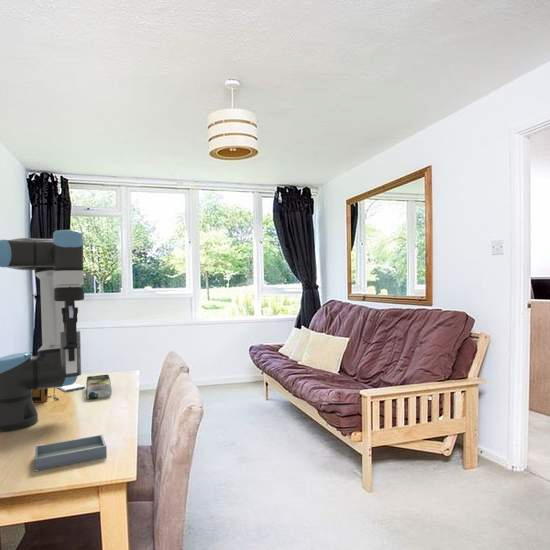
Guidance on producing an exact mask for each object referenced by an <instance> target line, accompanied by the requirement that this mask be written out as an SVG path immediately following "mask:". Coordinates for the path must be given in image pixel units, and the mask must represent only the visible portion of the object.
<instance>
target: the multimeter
mask: <svg viewBox="0 0 550 550" xmlns="http://www.w3.org/2000/svg"><path fill="white" fill-rule="evenodd" d="M29 353H31V354H33V356H36V354H35V353H34V352H31V351H30V352H29ZM55 389H56V387H55V388H53V392H55ZM48 392H49V388H48V389H40V390H32V401H33V403H41V402H43V403H45V402H47V401H48V400H49V399H48V398H52V397H53V400H54V401H55V402H56V401H59V397H56V396H57V395H55V394H53V395H48Z"/></svg>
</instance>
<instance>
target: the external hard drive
mask: <svg viewBox="0 0 550 550" xmlns="http://www.w3.org/2000/svg"><path fill="white" fill-rule="evenodd" d="M56 388H57V389H58V388H59V389H58V390H60V389H61V391H62V390H63V392H64V391H65V393H69V392H68V391H70V392H74V390H75V391H79V389H81V390H84V388H85V389H86V386H84V385H82V384H80V383H76V382H75V383H74V384H72V385H67V386H63V387H56Z"/></svg>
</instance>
